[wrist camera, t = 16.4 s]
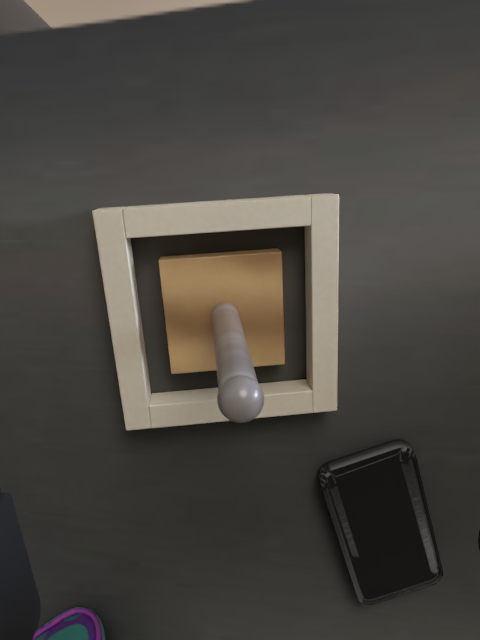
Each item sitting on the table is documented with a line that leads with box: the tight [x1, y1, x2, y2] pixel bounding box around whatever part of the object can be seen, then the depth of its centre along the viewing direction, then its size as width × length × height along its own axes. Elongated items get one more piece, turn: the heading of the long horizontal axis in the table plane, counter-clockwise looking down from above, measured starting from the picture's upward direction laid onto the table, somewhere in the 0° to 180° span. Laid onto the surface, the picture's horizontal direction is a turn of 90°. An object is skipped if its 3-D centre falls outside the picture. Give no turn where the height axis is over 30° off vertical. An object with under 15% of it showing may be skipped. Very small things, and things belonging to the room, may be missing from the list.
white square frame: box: [92, 193, 339, 431], centre depth 31 cm, size 15×15×2 cm
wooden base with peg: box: [158, 248, 285, 423], centre depth 25 cm, size 8×8×14 cm
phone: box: [318, 440, 443, 605], centre depth 39 cm, size 8×1×15 cm
